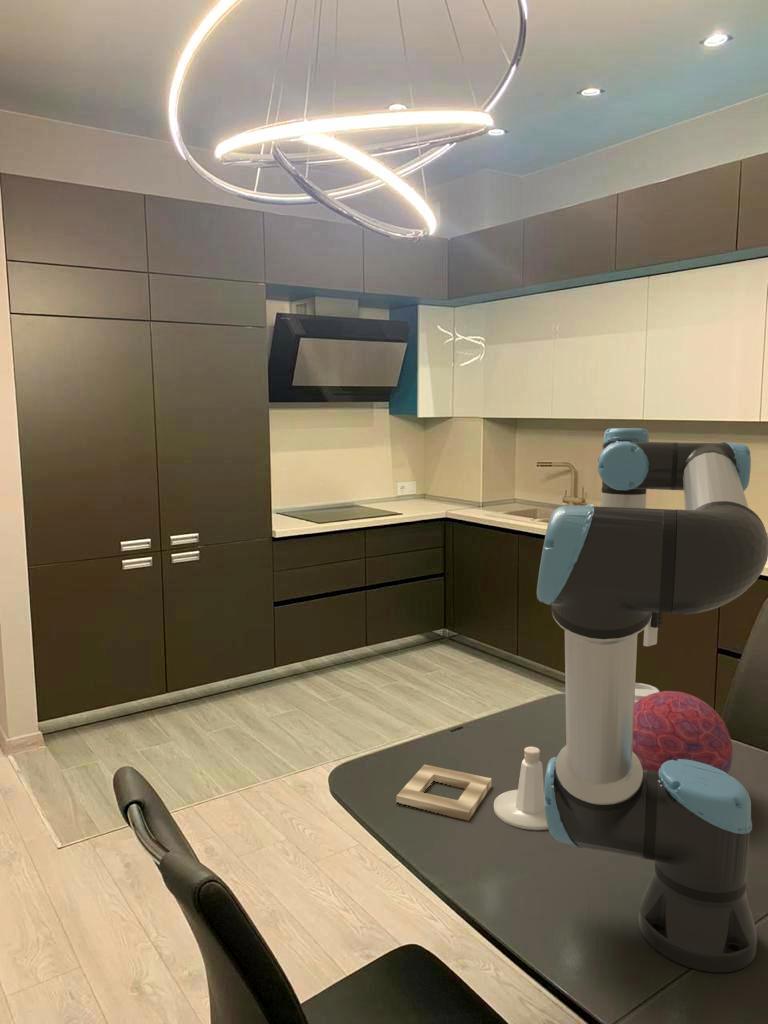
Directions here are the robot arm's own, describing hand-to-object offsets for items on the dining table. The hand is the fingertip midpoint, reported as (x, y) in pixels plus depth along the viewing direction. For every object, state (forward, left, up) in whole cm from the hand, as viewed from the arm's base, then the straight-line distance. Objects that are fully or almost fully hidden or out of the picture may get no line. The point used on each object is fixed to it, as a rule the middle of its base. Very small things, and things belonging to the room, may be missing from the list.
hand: (617, 635), depth 135 cm
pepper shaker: (-7, +13, -32) cm, 35 cm away
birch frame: (-8, +29, -33) cm, 44 cm away
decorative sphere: (+10, -10, -33) cm, 36 cm away
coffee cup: (+24, -2, -33) cm, 41 cm away
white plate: (-7, +13, -33) cm, 36 cm away
